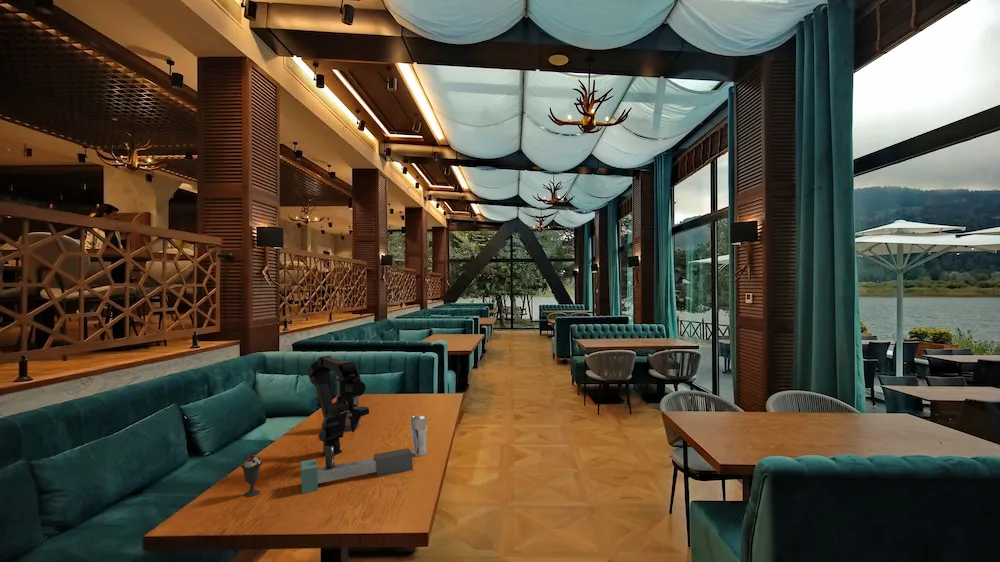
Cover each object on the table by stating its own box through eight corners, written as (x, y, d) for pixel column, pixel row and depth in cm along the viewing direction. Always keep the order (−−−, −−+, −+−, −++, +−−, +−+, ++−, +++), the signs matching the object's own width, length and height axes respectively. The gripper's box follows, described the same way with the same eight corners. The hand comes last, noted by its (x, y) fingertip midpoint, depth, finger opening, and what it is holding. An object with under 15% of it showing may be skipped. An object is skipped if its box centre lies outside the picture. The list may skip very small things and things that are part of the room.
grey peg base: (378, 467, 176) (377, 437, 176) (380, 471, 172) (379, 440, 173) (307, 481, 165) (306, 448, 166) (308, 485, 162) (307, 452, 162)
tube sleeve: (409, 464, 182) (408, 448, 182) (412, 469, 176) (412, 452, 177) (374, 471, 176) (373, 454, 176) (377, 476, 171) (376, 459, 171)
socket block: (316, 480, 169) (315, 458, 169) (317, 490, 161) (317, 467, 161) (301, 483, 167) (300, 461, 167) (302, 493, 159) (301, 470, 159)
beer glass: (424, 456, 190) (423, 420, 190) (408, 456, 191) (407, 419, 192) (430, 450, 197) (429, 415, 197) (415, 450, 198) (414, 415, 199)
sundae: (248, 499, 155) (247, 454, 156) (237, 495, 159) (236, 451, 159) (267, 491, 161) (266, 448, 161) (256, 488, 164) (255, 445, 165)
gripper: (314, 395, 185) (315, 435, 185) (348, 399, 177) (350, 440, 177) (335, 390, 195) (337, 427, 195) (369, 392, 187) (370, 431, 187)
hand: (347, 431), depth 188 cm, fingers open, 5 cm apart
